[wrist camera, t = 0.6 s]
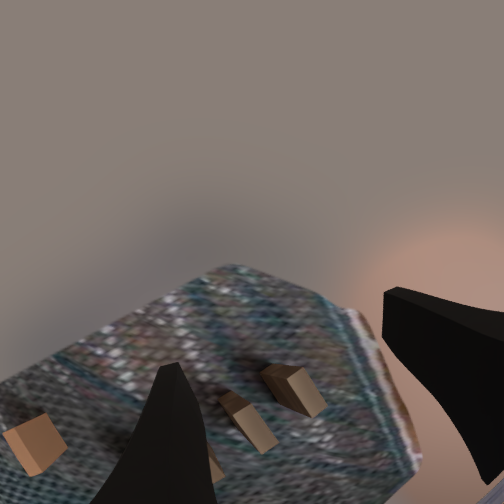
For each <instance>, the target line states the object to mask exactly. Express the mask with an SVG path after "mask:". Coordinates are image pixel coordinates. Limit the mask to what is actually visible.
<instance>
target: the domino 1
mask: <svg viewBox="0 0 504 504" xmlns="http://www.w3.org/2000/svg"><path fill="white" fill-rule="evenodd" d="M3 435H4V437H5V439H6V440H7V442H8V444H9V445H10V447H11V449H12V450H13V452H14V454H15V455H16V457H17V458H18V460H19V461H20V463H21V464H22V466H23V467H24V469H25V470H26V472H27V473H28V475H29V476H30V477H31V476H34V475H37V474H40V473H43V472H44V471H45V470H46V469H47V468H48V467H49V466H50V465H51V464H52V463H53V462H54V461H55V460H56V459H57V458H58V457H59V456H60V455H61V454H62V453H63V452H64V451H65V450H66V449H67V448H68V447H67V445H66V444H65V442H64V441H63V439H62V438H61V436H60V435H59V433H58V431H57V430H56V428H55V427H54V425H53V423H52V422H51V420H50V418H49V417H48V415H47V413H44V414H42V415H40V416H38V417H36V418H34V419H32V420H30V421H27V422H25V423H23V424H21V425H19V426H17V427H15V428H13V429H10V430H8V431H6V432H4V433H3Z"/></svg>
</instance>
